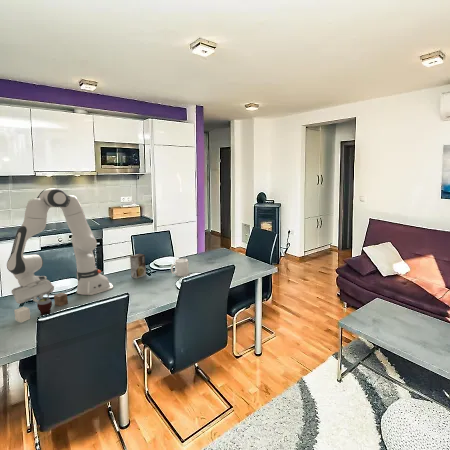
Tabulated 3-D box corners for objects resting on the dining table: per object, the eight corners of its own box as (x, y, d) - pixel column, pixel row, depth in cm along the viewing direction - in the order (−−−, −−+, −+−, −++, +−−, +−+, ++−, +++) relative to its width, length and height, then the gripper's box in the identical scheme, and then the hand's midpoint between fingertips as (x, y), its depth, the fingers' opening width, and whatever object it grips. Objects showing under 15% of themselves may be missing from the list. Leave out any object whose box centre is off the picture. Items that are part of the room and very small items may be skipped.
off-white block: (25, 316, 174) (24, 306, 173) (30, 318, 171) (29, 308, 170) (15, 320, 169) (14, 310, 168) (20, 322, 167) (19, 312, 166)
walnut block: (62, 301, 192) (61, 292, 191) (67, 303, 190) (66, 294, 189) (54, 304, 188) (53, 295, 187) (60, 306, 186) (59, 297, 185)
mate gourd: (35, 314, 176) (32, 289, 173) (47, 308, 183) (44, 284, 180) (45, 316, 173) (42, 291, 170) (57, 310, 180) (54, 285, 177)
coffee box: (140, 273, 242) (139, 253, 239) (146, 275, 238) (145, 254, 235) (130, 277, 234) (129, 256, 231) (136, 278, 231) (135, 257, 228)
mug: (175, 278, 231) (174, 264, 229) (168, 274, 239) (168, 261, 237) (191, 274, 239) (190, 260, 237) (184, 270, 247) (184, 257, 245)
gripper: (11, 286, 172) (23, 307, 169) (48, 275, 189) (60, 293, 186) (8, 292, 175) (20, 313, 172) (44, 281, 192) (56, 299, 189)
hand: (41, 303), depth 179 cm, fingers closed
